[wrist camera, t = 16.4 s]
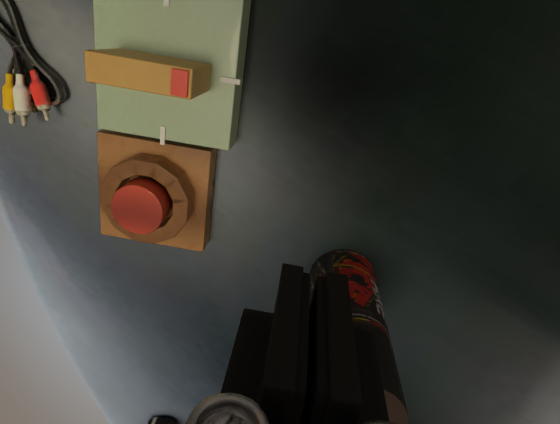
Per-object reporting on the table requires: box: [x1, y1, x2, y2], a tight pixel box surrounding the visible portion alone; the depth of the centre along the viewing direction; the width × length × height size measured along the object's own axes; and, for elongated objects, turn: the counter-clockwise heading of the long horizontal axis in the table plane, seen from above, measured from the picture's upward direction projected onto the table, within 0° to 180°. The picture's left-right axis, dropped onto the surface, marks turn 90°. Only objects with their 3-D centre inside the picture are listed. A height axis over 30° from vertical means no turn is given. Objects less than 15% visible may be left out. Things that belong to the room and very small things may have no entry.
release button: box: [111, 178, 171, 234], centre depth 31 cm, size 4×4×2 cm
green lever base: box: [93, 0, 251, 150], centre depth 29 cm, size 12×11×3 cm
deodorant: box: [310, 250, 409, 424], centre depth 30 cm, size 6×6×15 cm
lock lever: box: [84, 48, 211, 100], centre depth 26 cm, size 6×2×5 cm, turn 81°
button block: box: [97, 129, 217, 252], centre depth 33 cm, size 9×9×4 cm
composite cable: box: [0, 0, 67, 127], centre depth 30 cm, size 10×5×2 cm, turn 5°
